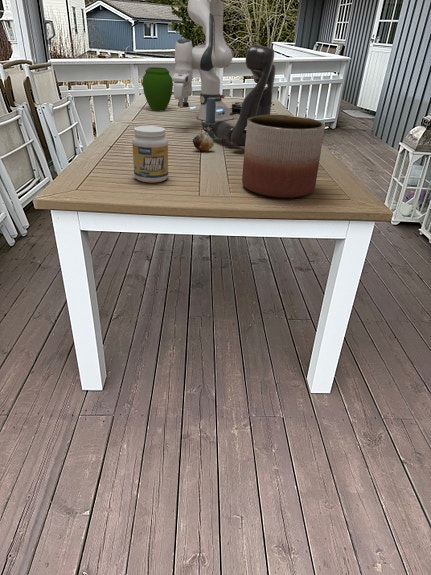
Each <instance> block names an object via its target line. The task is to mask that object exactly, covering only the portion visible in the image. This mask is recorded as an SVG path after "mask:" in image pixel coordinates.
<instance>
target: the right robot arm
mask: <svg viewBox="0 0 431 575" xmlns="http://www.w3.org/2000/svg"><path fill="white" fill-rule="evenodd" d="M274 59H275V50H274V49H273V48H272V47H269V46H264V45H260V44H255V43H254V44H251V45H250V46H249V47H248V49H247V50H246V54H245V66H246V68H247V69H248V70H250V72H251V74H252V78H253V82H254V83H255V84H256V85H255V86H254V87H253V88H252V89H251V91H249V92H248V93H247V94H246V96H245V98H244V99H243V101H242V102H243V103H242V107H241V111H240V114H239V116H238V119H237V121H236V123H235V125H232V124H231V123H229V122H226V121H215V123H206V121H202V122H201V127H202V128H201V130H203V131H204V132H205V131H207V130H208V131H212V132H213V133H214V137H217V138H219V139H221V140H223V141H227V142H229V143H231V145H232V146H235V147H241V148H245V142H246V131H247V120H248V118H250V117H252V116H257V115H271V113H272V112H271V111H272V104H271V103H273V91H274V85H275V78H276V69H277V68H276V65H275V64H274ZM266 85H267V86H266ZM207 125H208V127H207Z"/></svg>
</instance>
